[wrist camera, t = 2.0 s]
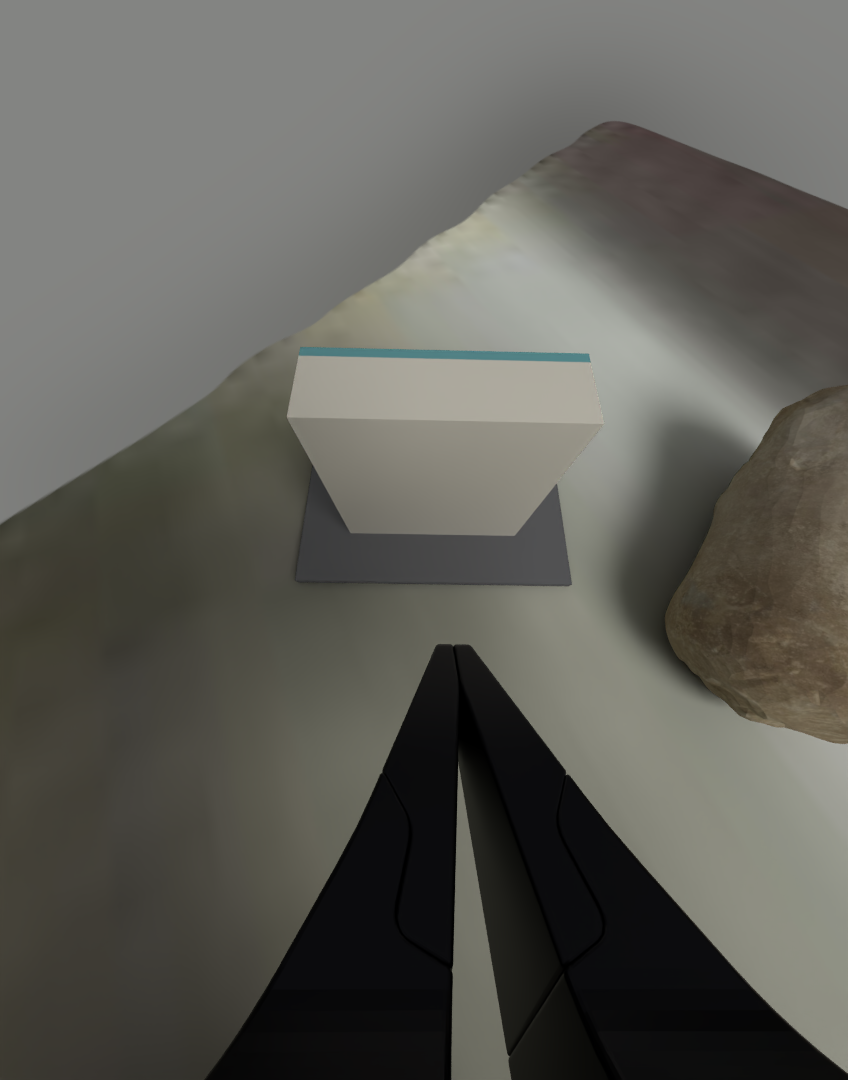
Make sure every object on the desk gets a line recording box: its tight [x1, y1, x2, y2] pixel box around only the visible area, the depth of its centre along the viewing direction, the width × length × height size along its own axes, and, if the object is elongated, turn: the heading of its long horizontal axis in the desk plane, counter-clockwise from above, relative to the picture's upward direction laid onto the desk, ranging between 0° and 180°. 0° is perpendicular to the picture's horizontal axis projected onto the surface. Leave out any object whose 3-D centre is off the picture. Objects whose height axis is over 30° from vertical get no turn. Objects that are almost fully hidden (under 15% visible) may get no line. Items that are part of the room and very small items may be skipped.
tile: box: [287, 347, 604, 536], centre depth 15 cm, size 3×10×10 cm, turn 89°
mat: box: [295, 465, 572, 586], centre depth 22 cm, size 18×16×1 cm
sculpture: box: [665, 385, 848, 744], centre depth 16 cm, size 9×17×10 cm
